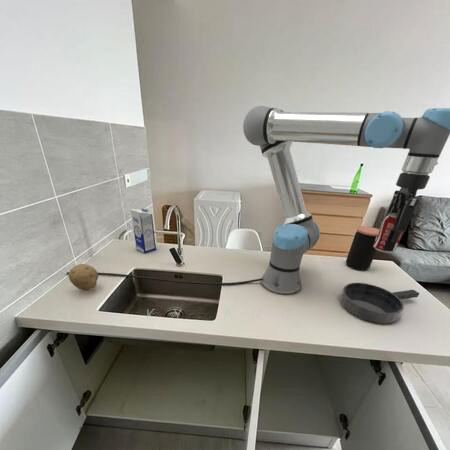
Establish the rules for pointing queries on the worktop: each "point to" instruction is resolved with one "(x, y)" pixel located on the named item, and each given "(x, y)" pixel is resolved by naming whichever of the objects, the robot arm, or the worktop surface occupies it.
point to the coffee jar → (362, 248)
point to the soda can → (386, 233)
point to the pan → (371, 303)
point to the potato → (83, 277)
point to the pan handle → (404, 294)
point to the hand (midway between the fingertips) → (384, 246)
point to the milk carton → (143, 230)
